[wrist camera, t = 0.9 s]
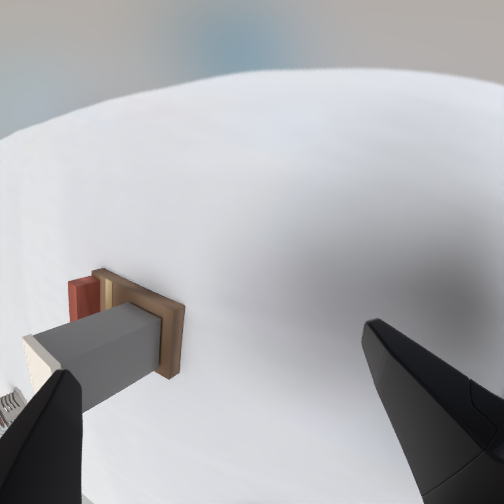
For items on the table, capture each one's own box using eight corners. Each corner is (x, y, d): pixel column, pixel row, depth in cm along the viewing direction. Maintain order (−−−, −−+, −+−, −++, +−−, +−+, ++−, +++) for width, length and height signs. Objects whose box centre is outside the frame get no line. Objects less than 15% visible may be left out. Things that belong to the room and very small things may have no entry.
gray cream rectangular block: (162, 318, 24) (50, 368, 14) (159, 369, 25) (64, 425, 16) (127, 300, 26) (21, 337, 16) (127, 349, 27) (34, 393, 17)
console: (184, 306, 25) (147, 322, 21) (179, 372, 27) (147, 394, 23) (102, 268, 29) (67, 276, 25) (103, 327, 31) (71, 339, 27)
